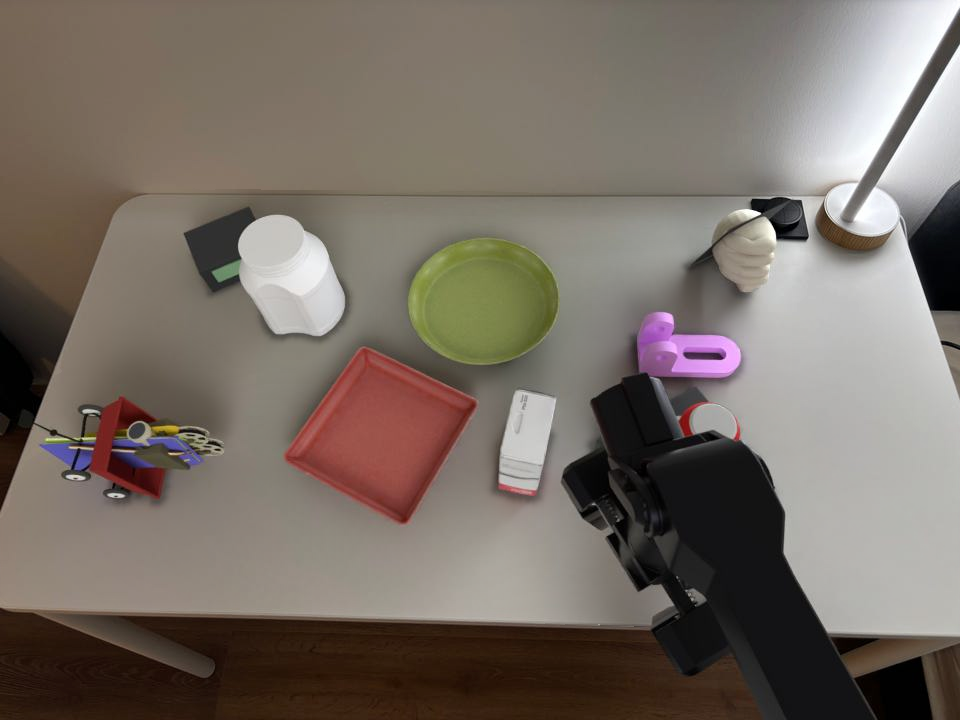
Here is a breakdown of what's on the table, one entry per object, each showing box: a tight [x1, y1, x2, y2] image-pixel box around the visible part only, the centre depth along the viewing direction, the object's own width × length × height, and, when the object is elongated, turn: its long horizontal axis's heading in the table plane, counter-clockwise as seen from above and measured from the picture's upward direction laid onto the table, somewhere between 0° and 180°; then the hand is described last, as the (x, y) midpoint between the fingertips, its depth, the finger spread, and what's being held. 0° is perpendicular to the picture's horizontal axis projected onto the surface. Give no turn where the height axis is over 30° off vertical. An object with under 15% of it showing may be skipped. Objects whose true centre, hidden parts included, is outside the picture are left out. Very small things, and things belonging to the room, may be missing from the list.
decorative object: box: [689, 198, 794, 293], centre depth 88 cm, size 13×10×10 cm
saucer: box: [407, 237, 561, 366], centre depth 90 cm, size 21×21×3 cm
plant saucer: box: [282, 346, 479, 527], centre depth 81 cm, size 18×18×3 cm
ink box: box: [497, 387, 557, 497], centre depth 76 cm, size 9×5×12 cm, turn 167°
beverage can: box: [678, 401, 741, 441], centre depth 71 cm, size 6×6×12 cm
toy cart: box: [17, 395, 226, 500], centre depth 75 cm, size 17×9×20 cm
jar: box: [238, 214, 346, 337], centre depth 86 cm, size 12×10×15 cm
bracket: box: [636, 311, 742, 379], centre depth 83 cm, size 13×6×7 cm, turn 88°
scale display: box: [182, 205, 257, 293], centre depth 95 cm, size 8×10×5 cm
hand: (631, 569), depth 62 cm, fingers open, 9 cm apart
